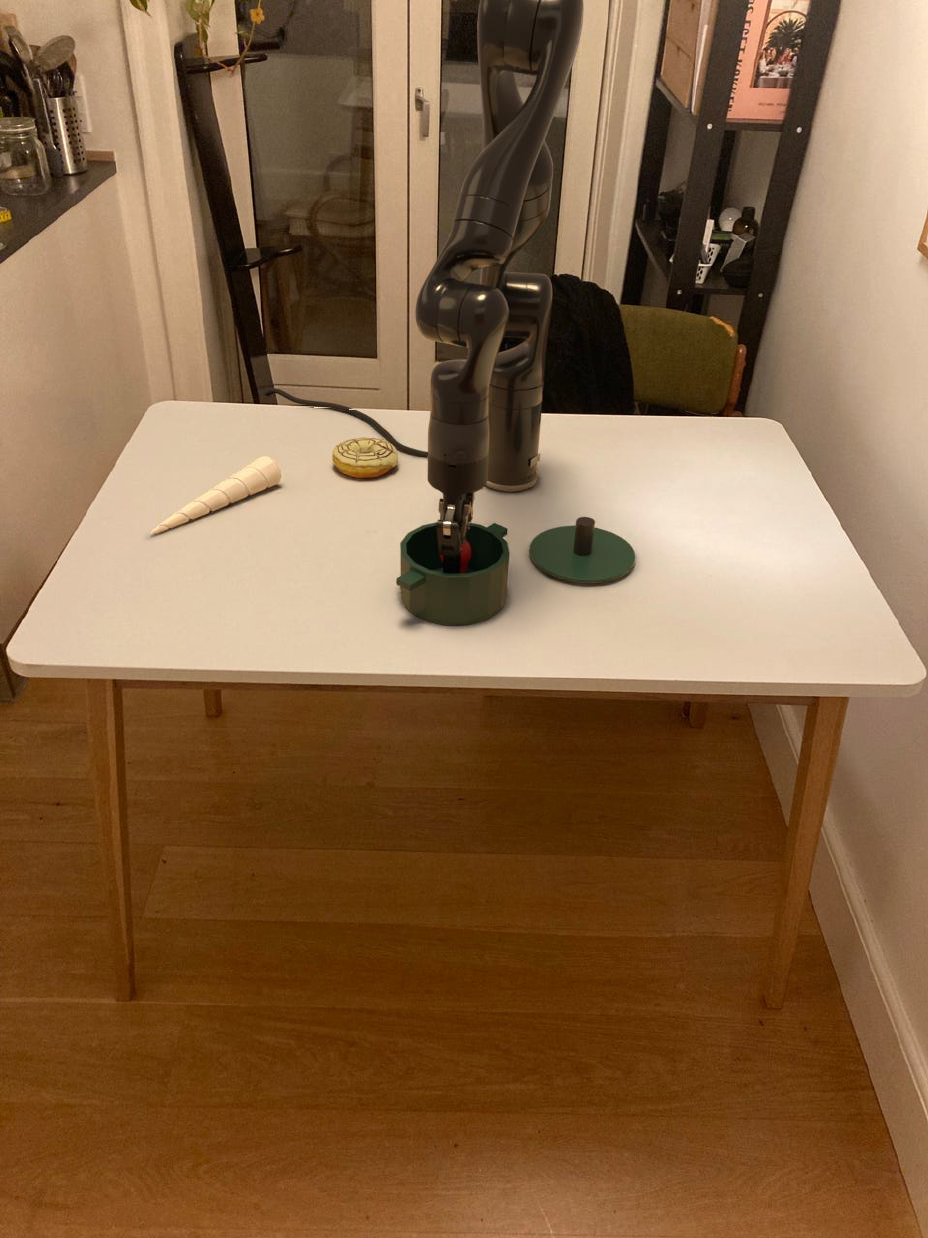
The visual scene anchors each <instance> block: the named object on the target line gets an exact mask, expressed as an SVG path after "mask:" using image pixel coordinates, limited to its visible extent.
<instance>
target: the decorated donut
mask: <svg viewBox="0 0 928 1238" xmlns="http://www.w3.org/2000/svg"><path fill="white" fill-rule="evenodd" d="M331 457H332V459H331V461H332V463H333V464H334V465H335V467H336V468H337V469H338V470H339V472H341V473H342V474H344V475H347V476H349V477H352V478H356V479H360V478H361V479H362V478H363V479H364V478H368V479H369V478H370V479H371V478H377V477H380V476H383V475H385V474H387V472H389V471H390V470H392V469H393V468H394V467H396V466H397V465H398V462H399V452H398V450H397V448H396V447H395V446H394V445H392V444H391V442H390V441H389V440H385V439H383V438H375V437H365V436H364V437H357V438H351V439H347V440H343V441H342V442H338V444H336V445H335V447H333V449H332V455H331Z"/></svg>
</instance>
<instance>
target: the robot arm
mask: <svg viewBox="0 0 928 1238" xmlns="http://www.w3.org/2000/svg"><path fill="white" fill-rule="evenodd" d="M584 11H585V10H584V0H479V4H478V13H477V24H476V30H477V32H476V39H477V40H476V42H477V61H478V73H479V74H478V75H479V86H480V87H479V88H480V101H481V117H482V118H481V121H482V124H481V125H482V126H481V128H482V129H481V152H480V153H479V155H478V156H477V157H476V158H475V159H474V161H473V163H472V164H471V166H470V168H469V169H468V171H467V172H466V175H465V178H464V179H463V182H462V186H461V189H460V192H459V196H458V200H457V204H456V207H455V211H454V216H453V220H452V225H451V229H450V231H449V234H448V237H447V239H446V242H445V243H444V245H443V247H442V249H441V251H440V253H439V254H438V256H437V259H436V261H435V263H434V264H433V266H432V268H431V270H430V271H429V273H428V275H427V276H426V278H425V280H424V282H423V284H422V286H421V288H420V289H419V293H418V295H417V299H416V304H415V310H414V311H415V314H414V316H415V322H416V326H417V329H418V331H419V332H420V333H421V335H422V336H423V337H424V338H425V339H427V340H430V341H432V342H436V343H442V344H446V345H452V346H456V347H462V348H466V349H467V358H460V359H457V358H456V359H450V360H444V361H442V362H439V363H437V365H435V366H434V367H433V369H432V370H431V375H430V393H429V395H430V399H429V401H430V403H429V404H430V406H429V408H430V409H429V411H430V412H429V421H428V427H427V429H428V430H427V451H426V450H425V451H424V450H420V449H416V448H412V447H410V446H407V445H404V444H402V443H400V442H399V441H397V440H396V438H395V437H393V435H392V434H391V433H390V432H389V431H388V430H387V429H386V428H384V427H383V426H382V425H381V424H380V423H378V422H377V421H376V420H375V419H374V418H372V417H371V416H369V415H368V414H366V413H363V412H362V411H359V410H357V409H355V410H349V409H353V408H352V407H349V406H346V405H343V404H337V403H333V402H329V401H319V400H311V399H309V400H308V399H303V398H298V397H296V396H293V395H292V394H290V393H288V392H286V391H284V390H282V389H280V388H277V387H276V388H275V387H273V388H269V389H268V390H266V391H265V393H264V394H263V396H266V397H270V396H271V395H274V394H277V395H279V396H281V397H283V398H285V399H287V400H288V401H291V403H292V402H293V403H294V404H299V405H304V406H311V407H320V408H328V409H334V410H337V411H341V412H345V413H348V414H351V415H353V416H356V417H357V418H360V419H362V420H364V421H366V422H367V423H368V424H370V425H372V426H373V427H374V429H376V430H377V431H378V432H379V433H380V434H381V435H382V436H384V438H386V439H387V441H388V442H389V443H390V444H392V445H393V446H394V447H395V448H396V449H398V450H400V451H402V452H405V453H408V454H410V455H413V456H418V457H422V458H427V481H428V483H429V485H430V486H431V488H433V489H434V490H437V491H439V492H440V493H441V494H442V497H440V498H439V499H438V513H439V519H437V521H436V522H437V523H436V526H437V536H438V552H439V555H443V573H447V574H460V571H461V552H462V538H463V537H464V536H466V541H467V537H468V532H469V530H470V527H469V522H470V523H472V520H473V517H474V516H473V515H474V503H475V499H476V497H475V493H476V492H478V491H480V490H482V489H483V488H484V487H487V488H489V489H492V490H495V491H498V492H507V493H508V492H509V493H513V492H514V493H515V492H516V493H517V492H522V491H526V490H528V489H531V488H533V487H534V486H535V485H536V483H537V481H538V480H537V479H538V463H539V462H540V460H541V453H539V449H540V448H539V447H540V435H541V424H542V423H541V422H542V411H543V410H542V409H543V397H544V385H545V371H546V370H545V369H546V354H547V344H548V335H549V330H550V328H549V327H550V323H551V321H550V320H551V315H552V307H553V286H552V285H553V284H552V282H551V279H550V277H549V276H548V275H546V274H544V273H540V272H539V273H538V272H537V273H536V272H518V271H506V270H507V267H508V266H509V264H510V263H511V261H512V259H513V258H514V257H515V256H516V255H517V254H518V253H519V251H520V250H521V249H522V248H524V247H525V245H526V244H528V243H529V242H530V241H531V240H532V238H533V237H534V236H535V234H537V232H538V231H539V230H540V228H541V227H542V226H543V225H544V223H545V221H546V219H547V217H548V215H549V213H550V209H551V203H552V202H551V201H552V193H553V192H552V190H553V180H554V162H553V158H552V155H551V151H550V149H549V146H548V145H547V142H546V137H547V135H548V133H549V131H550V128H551V124H552V122H553V120H554V116H555V114H556V111H557V109H558V106H559V103H560V100H561V98H562V95H563V92H564V90H565V88H566V84H567V81H568V79H569V77H570V73H571V71H572V68H573V65H574V62H575V58H576V55H577V52H578V48H579V45H580V41H581V36H582V35H581V34H582V30H583V22H584ZM516 74H521V75H526V76H531V77H535V79H534V82H533V85H532V87H531V90H530V92H529V94H528V95H527V97H526V100H525V101H523V99H522V96H521V92H520V90H519V86H518V83H517V82H518V81H517V77H516ZM476 270H479V278H478V279H479V280H478V283H477V282H470V281H466V280H467V279H468V278H469V276H470V275H471V274H472V273H473V272H474V271H476ZM504 338H515V339H516V338H517V339H525V340H524V341H523V342H521V343H519V344H518V345H516V346H514V347H512V348H509V349H507V350H504V351H500V348H501V345H502V342H503V339H504ZM499 351H500V352H499Z"/></svg>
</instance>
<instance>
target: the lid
mask: <svg viewBox="0 0 928 1238" xmlns="http://www.w3.org/2000/svg"><path fill="white" fill-rule="evenodd" d="M575 521H576V522H575V524H574V525H561V526H557V527H552V528H549V529H546V530H544V531H541V532H540V533H539V534H537V535H536V536H535V537H534V538H533V539H532V540H531V541H530V544H529V550H528V551H529V556H530V558H531V561H532V562H533V563H534V564H535V566H536V567H538V568H539V569H540V570H541V571H543V572H545V573H546V574H548V575H550V576H552V577H555V578H558V579H561V580H564V581H568V582H574V583H581V584H582V583H584V584H597V583H606V582H609V581H614V580H617V579H619V578H621V577H624V576H625V575H627V574H628V573H629V572H630V571H631V570H632V569H633V568H634V566H635V563H636V554H635V550H634V548H633V546H632V545H631V544H630V543H629V542H628V541H627V540H626V539H624V538H623V537H621V536H620V535H618V534H616V533H613V532H611V531H609V530H606V529H603V528H599V527H596V525H595V524H596V520H595V519H593V518H592V517H590V516H580V517H578V518H577V519H576V520H575Z"/></svg>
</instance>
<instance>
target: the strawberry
mask: <svg viewBox="0 0 928 1238" xmlns="http://www.w3.org/2000/svg"><path fill="white" fill-rule="evenodd" d="M440 558H441V560H442V561H443V555H440ZM470 558H471V547H470V545H469V543H468V542H467V541H466V536H464V537H463V538H462V552H461V571H460V574H461V573H465V572H466V571H467V563H468V561H469V560H470Z"/></svg>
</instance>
